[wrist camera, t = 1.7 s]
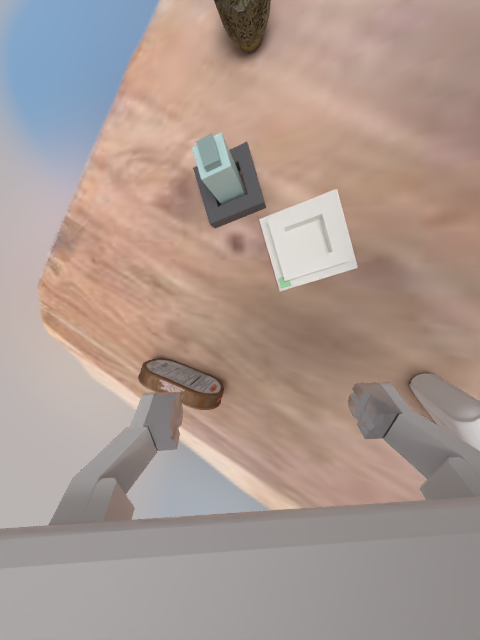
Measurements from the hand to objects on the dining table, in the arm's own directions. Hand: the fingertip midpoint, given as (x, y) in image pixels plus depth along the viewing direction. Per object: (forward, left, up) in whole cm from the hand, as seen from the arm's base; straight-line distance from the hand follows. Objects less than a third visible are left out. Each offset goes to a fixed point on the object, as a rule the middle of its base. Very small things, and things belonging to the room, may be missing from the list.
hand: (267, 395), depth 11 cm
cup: (-7, -42, -28) cm, 51 cm away
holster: (+2, -23, -28) cm, 36 cm away
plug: (+2, -23, -28) cm, 36 cm away
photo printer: (-19, +18, -28) cm, 39 cm away
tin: (+19, +5, -29) cm, 35 cm away
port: (-7, -11, -28) cm, 31 cm away
